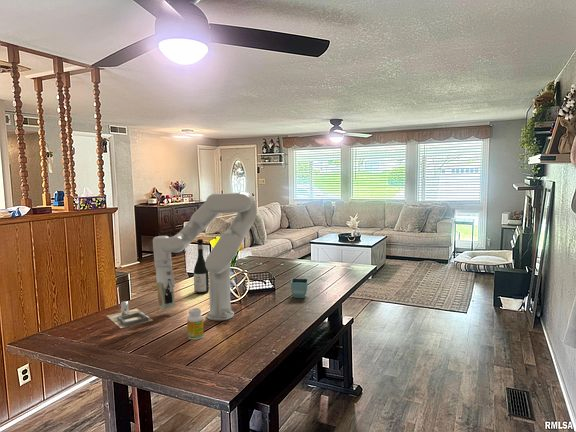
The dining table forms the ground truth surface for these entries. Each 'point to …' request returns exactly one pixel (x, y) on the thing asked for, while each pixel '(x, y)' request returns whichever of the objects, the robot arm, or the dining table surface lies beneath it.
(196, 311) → the supplement bottle
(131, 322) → the board
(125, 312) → the steel pin
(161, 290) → the skincare box
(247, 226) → the robot arm
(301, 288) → the flower pot
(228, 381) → the dining table surface
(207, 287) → the wine bottle
